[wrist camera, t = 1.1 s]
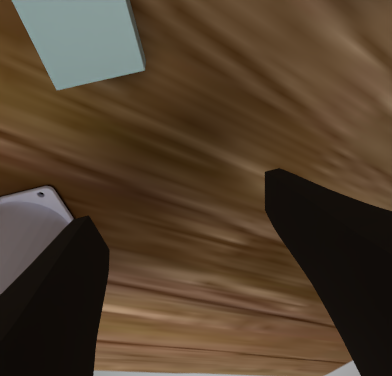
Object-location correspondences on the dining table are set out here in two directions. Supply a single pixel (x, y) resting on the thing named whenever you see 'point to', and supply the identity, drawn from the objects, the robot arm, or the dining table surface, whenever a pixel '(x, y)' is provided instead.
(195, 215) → the dining table surface
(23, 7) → the block
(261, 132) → the dining table surface
